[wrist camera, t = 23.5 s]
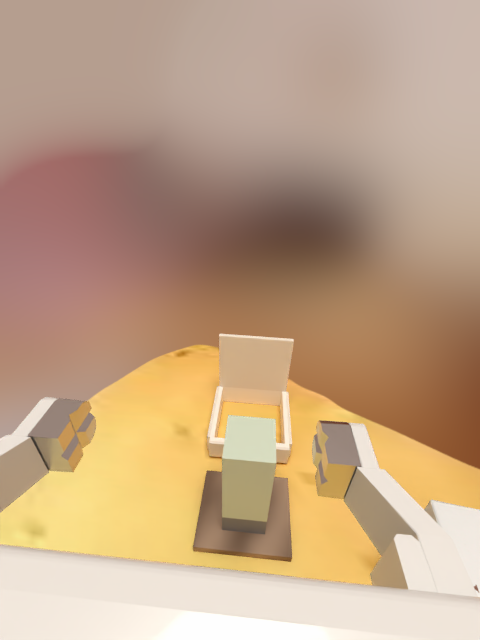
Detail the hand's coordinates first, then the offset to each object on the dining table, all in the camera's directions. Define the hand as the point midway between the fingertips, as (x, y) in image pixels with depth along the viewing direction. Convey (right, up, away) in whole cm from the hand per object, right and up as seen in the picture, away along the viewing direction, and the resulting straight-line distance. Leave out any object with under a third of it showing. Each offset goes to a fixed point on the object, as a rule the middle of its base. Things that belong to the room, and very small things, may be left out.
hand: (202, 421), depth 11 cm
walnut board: (+2, -21, +27) cm, 34 cm away
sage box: (+2, -20, +27) cm, 33 cm away
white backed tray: (+3, -14, +38) cm, 41 cm away
